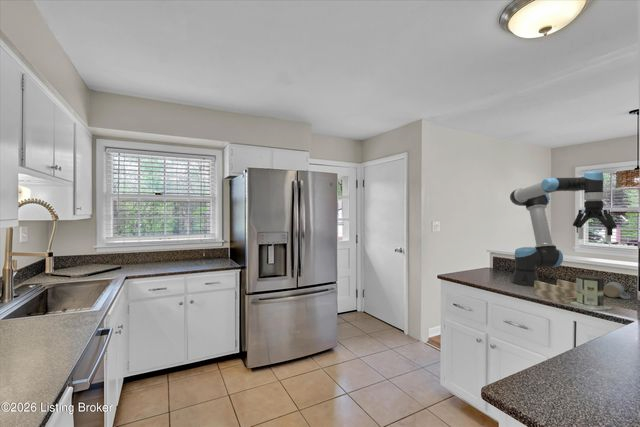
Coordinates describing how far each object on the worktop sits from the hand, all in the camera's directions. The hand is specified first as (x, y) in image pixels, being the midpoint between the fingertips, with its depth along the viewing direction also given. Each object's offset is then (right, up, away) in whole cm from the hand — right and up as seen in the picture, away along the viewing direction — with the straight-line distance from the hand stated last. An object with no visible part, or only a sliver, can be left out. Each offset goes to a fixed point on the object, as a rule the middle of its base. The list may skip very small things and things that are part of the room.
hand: (593, 240), depth 160 cm
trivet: (-11, -32, -10) cm, 35 cm away
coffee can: (-11, -31, -10) cm, 35 cm away
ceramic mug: (+17, -32, +5) cm, 36 cm away
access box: (-15, -32, +4) cm, 35 cm away
